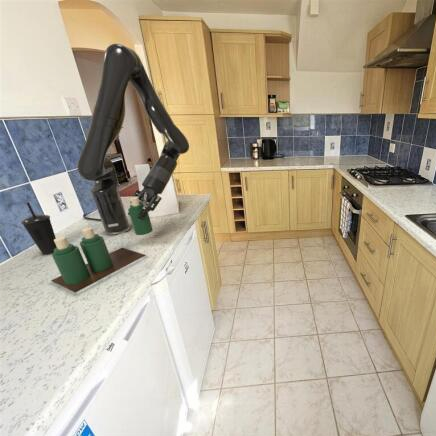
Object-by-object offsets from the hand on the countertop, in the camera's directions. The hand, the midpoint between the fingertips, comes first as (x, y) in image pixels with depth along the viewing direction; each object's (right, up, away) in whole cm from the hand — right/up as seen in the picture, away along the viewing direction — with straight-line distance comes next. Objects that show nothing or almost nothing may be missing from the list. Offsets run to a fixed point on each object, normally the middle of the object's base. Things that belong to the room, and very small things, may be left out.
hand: (135, 217), depth 91 cm
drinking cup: (-34, -13, +2) cm, 37 cm away
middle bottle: (-5, -17, -10) cm, 20 cm away
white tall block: (-11, +4, +42) cm, 44 cm away
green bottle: (+1, -6, +4) cm, 7 cm away
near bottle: (-8, -19, -16) cm, 26 cm away
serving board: (-5, -18, -10) cm, 21 cm away
